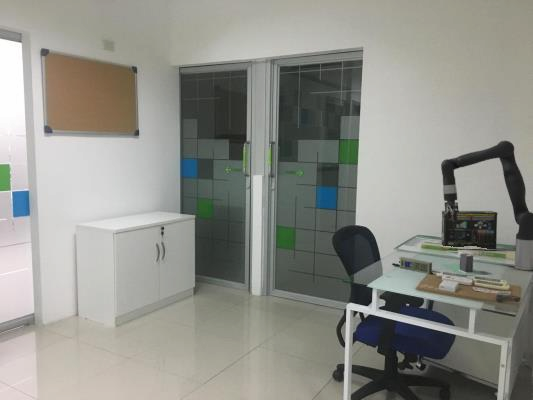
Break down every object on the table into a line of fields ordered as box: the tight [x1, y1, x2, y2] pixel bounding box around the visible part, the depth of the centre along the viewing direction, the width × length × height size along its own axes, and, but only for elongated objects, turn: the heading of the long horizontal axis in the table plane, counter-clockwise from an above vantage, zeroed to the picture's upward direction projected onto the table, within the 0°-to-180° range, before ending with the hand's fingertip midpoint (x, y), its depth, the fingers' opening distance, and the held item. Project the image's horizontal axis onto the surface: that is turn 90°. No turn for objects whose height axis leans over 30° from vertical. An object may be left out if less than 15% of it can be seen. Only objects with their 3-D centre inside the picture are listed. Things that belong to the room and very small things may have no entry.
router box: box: [441, 210, 499, 250], centre depth 322 cm, size 36×11×27 cm, turn 81°
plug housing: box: [459, 253, 474, 272], centre depth 252 cm, size 6×4×9 cm, turn 7°
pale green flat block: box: [440, 263, 483, 277], centre depth 258 cm, size 22×14×5 cm, turn 7°
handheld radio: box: [391, 256, 433, 275], centre depth 261 cm, size 7×3×25 cm
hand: (452, 219), depth 274 cm, fingers open, 8 cm apart
